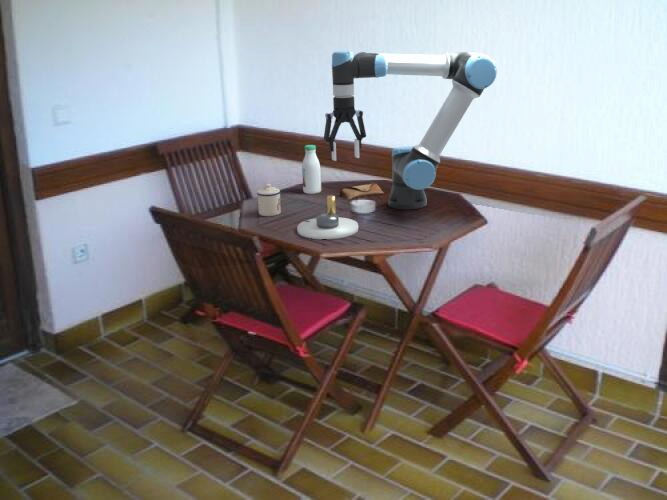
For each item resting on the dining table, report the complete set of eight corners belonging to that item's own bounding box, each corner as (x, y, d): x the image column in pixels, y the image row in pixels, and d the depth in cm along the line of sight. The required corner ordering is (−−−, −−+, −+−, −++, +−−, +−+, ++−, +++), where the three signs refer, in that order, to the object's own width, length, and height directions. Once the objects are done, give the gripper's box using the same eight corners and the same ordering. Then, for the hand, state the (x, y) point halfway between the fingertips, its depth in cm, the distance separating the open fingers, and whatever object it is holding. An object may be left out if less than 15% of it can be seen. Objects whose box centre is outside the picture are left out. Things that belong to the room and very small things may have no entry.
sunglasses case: (349, 200, 318) (344, 184, 319) (342, 205, 324) (338, 190, 325) (387, 193, 325) (382, 178, 326) (380, 198, 331) (375, 184, 332)
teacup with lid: (283, 215, 301) (281, 186, 297) (259, 217, 299) (257, 188, 295) (279, 207, 312) (277, 178, 308) (256, 209, 310) (254, 180, 306)
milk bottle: (324, 190, 334) (322, 144, 328) (316, 194, 328) (314, 147, 321) (308, 188, 337) (306, 143, 331) (300, 193, 331) (297, 147, 324)
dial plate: (362, 221, 290) (362, 216, 289) (353, 240, 269) (353, 235, 269) (304, 220, 294) (304, 216, 293) (291, 238, 273) (291, 234, 273)
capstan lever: (336, 228, 276) (335, 206, 274) (314, 227, 278) (313, 206, 275) (343, 216, 290) (342, 195, 287) (322, 215, 291) (321, 195, 289)
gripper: (366, 92, 284) (368, 153, 291) (312, 97, 277) (315, 159, 285) (375, 94, 277) (376, 157, 285) (319, 100, 271) (321, 163, 278)
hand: (345, 158), depth 285 cm, fingers open, 8 cm apart
